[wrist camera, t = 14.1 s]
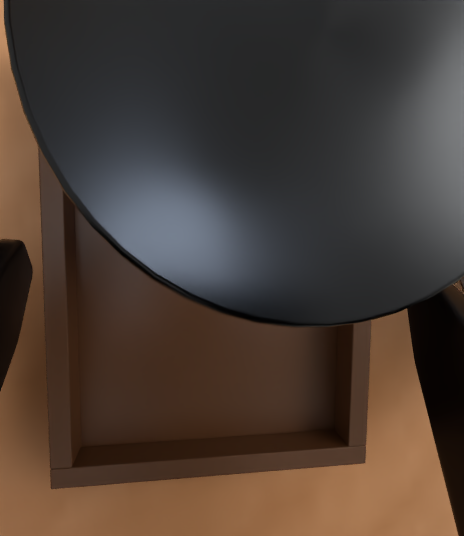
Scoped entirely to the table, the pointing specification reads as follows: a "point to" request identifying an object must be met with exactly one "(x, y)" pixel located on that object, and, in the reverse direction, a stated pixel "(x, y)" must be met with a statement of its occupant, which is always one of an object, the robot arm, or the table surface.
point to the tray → (181, 374)
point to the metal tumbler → (258, 145)
